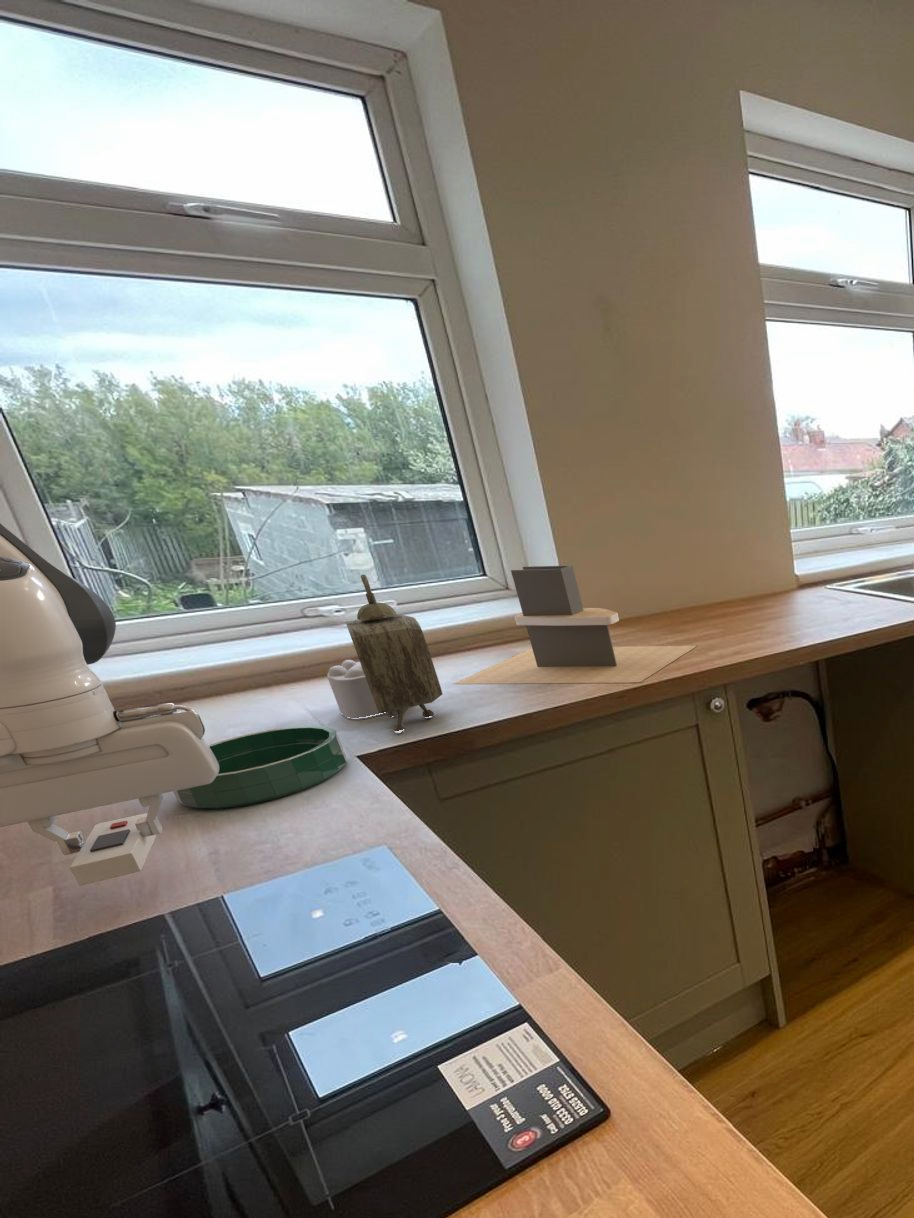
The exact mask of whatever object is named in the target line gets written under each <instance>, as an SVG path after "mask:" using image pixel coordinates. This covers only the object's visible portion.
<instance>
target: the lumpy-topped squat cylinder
mask: <svg viewBox="0 0 914 1218" xmlns="http://www.w3.org/2000/svg"><path fill="white" fill-rule="evenodd" d="M326 677H327V680H328V682H329V686H330V689H331V690H332V693H333V696H334V699H335V701H336V704H337V706H338V709H339V712H340V714H341V713H342V714H343V715H342V714H341V715H342V716H343V717H344V718H346V719H348V720H352V721H360V720H367V719H372V718H376V717H379V716H383V715H386V713H383V714H380V715H376V716H373V717H368V718H362V719H351V718H359V717H366V716H370V715H375V714H379V712H378V710H377V707H376V704H375V702H374V699H373V696H372V694H371V691H370V688H369V685H368V683H367V680H366V677H365V674H364V672H363V669H362V666H361V663H360V661H354V660H352V659H345V660H344V661H342V662H341V664H340V665H333V666H330V668H329V669H328V673H327V674H326ZM410 708H411V707H408V709H410ZM345 716H346V717H345ZM347 717H350V718H347Z"/></svg>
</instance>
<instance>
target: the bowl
mask: <svg viewBox="0 0 914 1218" xmlns="http://www.w3.org/2000/svg"><path fill="white" fill-rule="evenodd" d="M208 745H209V747H210V749H211V750H212V752H213V754H214V756H215V757H216V759H217V761H218V764H219V773H218V775H217V776H216V778H215V779H214V780H213V782H212V783H210V784H206V785H201V786H196V787H192V788H187V789H182V790H177V791H172V792H173V794H174V796H175V799H176V800H177V802H179V804H181V805H182V806H183V807H191V808H197V809H205V810H208V809H209V810H210V809H212V810H213V809H228V808H237V807H243V806H249V805H254V804H255V805H256V804H259V803H263V802H267V801H272V800H276V799H279V798H283V797H287V796H290V795H293V794H295V793H298V792H302V791H304V790H307V789H309V788H311V787H315V786H316V785H318V784H320V783H322V782H324V781H326V780H328V779H330V778H332V777H333V776H334V775H335V774H336V773H338V772H340V770H342V769H343V768H344V766H346V765H347V756H346V754H345V753H346V752H345V751H344V748H343V745H342V743H341V741H340V738H339V736H338V732H337V731H336V730H335V729H333V728H331V727H329V726H321V725H300V726H298V725H297V726H288V727H281V728H273V729H267V730H262V731H257V732H252V733H248V734H242V735H239V736H236V737H232V738H227V739H224V740H220V741H217V742H214V743H212V744H208Z"/></svg>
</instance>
